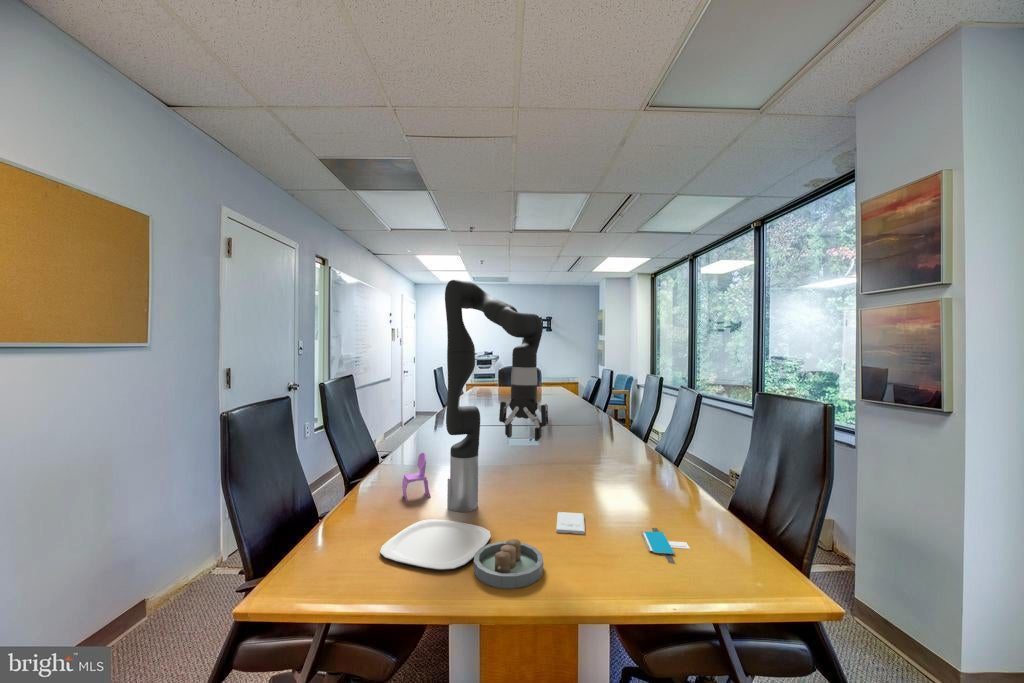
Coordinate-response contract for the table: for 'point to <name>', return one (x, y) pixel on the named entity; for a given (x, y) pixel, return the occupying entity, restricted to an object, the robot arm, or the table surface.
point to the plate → (436, 544)
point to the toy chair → (417, 476)
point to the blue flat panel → (662, 544)
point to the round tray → (518, 577)
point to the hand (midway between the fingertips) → (523, 438)
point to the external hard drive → (570, 523)
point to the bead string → (508, 556)
